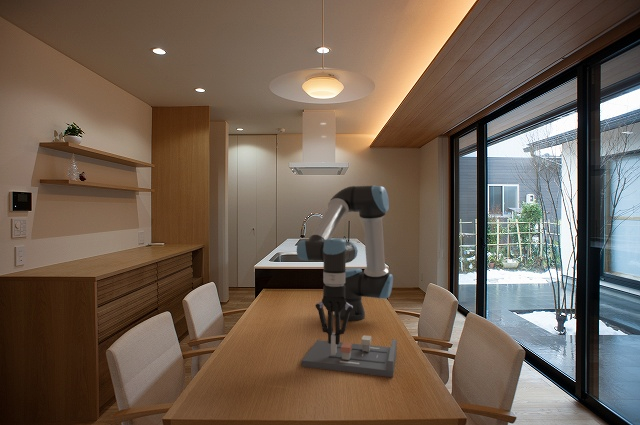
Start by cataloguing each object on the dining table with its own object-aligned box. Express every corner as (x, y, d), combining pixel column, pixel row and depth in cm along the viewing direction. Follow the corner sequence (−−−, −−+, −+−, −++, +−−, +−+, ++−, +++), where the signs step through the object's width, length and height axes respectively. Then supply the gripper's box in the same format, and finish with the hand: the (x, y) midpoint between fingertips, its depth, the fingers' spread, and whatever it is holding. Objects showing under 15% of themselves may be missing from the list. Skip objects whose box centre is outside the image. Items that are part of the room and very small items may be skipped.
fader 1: (343, 354, 129) (343, 342, 129) (352, 355, 128) (352, 343, 128) (340, 359, 124) (340, 347, 124) (349, 360, 124) (349, 347, 124)
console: (317, 345, 144) (317, 332, 144) (396, 353, 136) (396, 339, 136) (301, 366, 124) (301, 351, 124) (392, 377, 117) (393, 361, 117)
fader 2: (363, 346, 136) (363, 335, 136) (371, 347, 135) (371, 336, 135) (361, 351, 132) (361, 339, 132) (369, 352, 131) (369, 340, 131)
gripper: (312, 285, 125) (312, 355, 125) (351, 287, 122) (350, 359, 122) (318, 281, 132) (318, 347, 132) (355, 283, 129) (354, 351, 129)
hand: (333, 353), depth 127 cm, fingers closed
